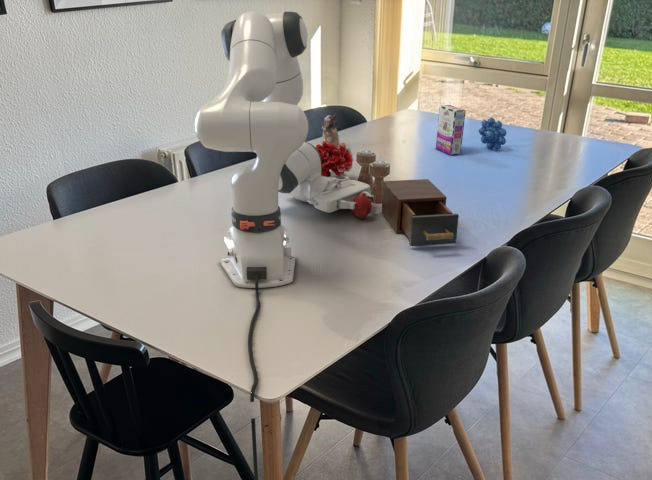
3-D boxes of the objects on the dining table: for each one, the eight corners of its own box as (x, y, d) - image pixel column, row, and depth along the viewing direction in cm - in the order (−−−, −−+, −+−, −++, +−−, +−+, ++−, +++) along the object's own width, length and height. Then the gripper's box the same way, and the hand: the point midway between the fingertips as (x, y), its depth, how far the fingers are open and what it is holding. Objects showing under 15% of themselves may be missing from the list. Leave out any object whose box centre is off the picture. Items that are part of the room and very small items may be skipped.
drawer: (462, 250, 184) (465, 221, 180) (416, 253, 182) (418, 224, 178) (437, 222, 201) (439, 196, 197) (395, 225, 199) (396, 198, 195)
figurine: (318, 144, 277) (318, 113, 270) (335, 143, 279) (336, 112, 272) (323, 149, 271) (323, 117, 265) (341, 148, 273) (341, 116, 267)
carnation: (277, 183, 259) (349, 198, 238) (246, 157, 244) (320, 172, 223) (294, 145, 260) (368, 157, 239) (264, 117, 245) (340, 128, 224)
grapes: (472, 149, 274) (475, 117, 268) (479, 145, 279) (483, 114, 273) (499, 154, 268) (504, 121, 262) (507, 150, 273) (511, 118, 267)
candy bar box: (461, 154, 267) (466, 110, 259) (450, 155, 265) (455, 111, 257) (445, 147, 276) (449, 104, 267) (435, 148, 274) (438, 105, 266)
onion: (347, 219, 205) (348, 193, 201) (356, 213, 209) (357, 187, 205) (365, 223, 203) (366, 196, 199) (374, 217, 207) (375, 190, 203)
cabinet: (443, 230, 198) (446, 196, 193) (396, 233, 196) (398, 199, 191) (425, 210, 213) (428, 178, 207) (381, 213, 210) (383, 181, 205)
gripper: (304, 190, 202) (341, 200, 194) (348, 174, 215) (384, 184, 208) (304, 211, 205) (341, 222, 198) (348, 194, 219) (383, 204, 211)
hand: (363, 202), depth 203 cm, fingers open, 7 cm apart
